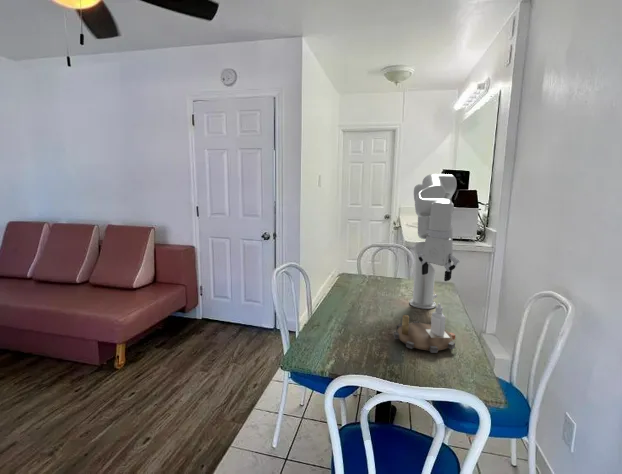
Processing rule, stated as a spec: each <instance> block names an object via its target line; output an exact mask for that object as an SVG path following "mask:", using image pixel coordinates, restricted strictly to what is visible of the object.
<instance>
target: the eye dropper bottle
mask: <svg viewBox="0 0 622 474" xmlns="http://www.w3.org/2000/svg"><path fill="white" fill-rule="evenodd" d="M430 324H431V332H432V333H433V334H435V335H437V336H444V331H445V330H446V329H445V328H446V316H445V315H444V313H443V306H441V303H440V302H438V305H436V307H435V311H433V312H432V313H431V320H430Z"/></svg>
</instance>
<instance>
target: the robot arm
mask: <svg viewBox="0 0 622 474" xmlns="http://www.w3.org/2000/svg"><path fill="white" fill-rule="evenodd" d="M457 186H458V185H457V178H456V177H455V176H454V175H453V174H449V173H448V174H447V173H446V174H445V173H438V174H437V173H432V174H428V175H426V176H425V177H423V179H422V183H419V184H416V185H415V186H414V188H413V200H414V208H415V209H414V210H415V214H416V215H417V236H418V238H419V239H422V240H424V241H420V242H416V244H415V245H414V248H413V253H414V277H413V290H412V291H413V292H412V293H413V294H412V298H411V299H410V300H409V302H408V303H409V304H410V305H411V307H414V308H417V309H423V310H431V309H434V308H436V306H437V303H436V302H435V301H434V299H437V298H438V294H436V293H435V294H434V292H435V291H434V290H435V279H436V278H435V277H436V270H435V268H434V266H433V265H437V266H443V267H444V269H445V271H444V280H443V281H444V282H448V281H450V280H452V271H454V270H455V269H456V268H457V267H458V265H459V264H460V260H459V259H457V257H455V256H454V255H453V246H454V245H453V227H452V226H453V225H452V215H454V210H455V208H454V203H453V201H452V200H451V199H452V197H453V195H454V194H455V192H456V190H457ZM452 263H453V264H452Z"/></svg>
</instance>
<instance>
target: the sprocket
mask: <svg viewBox="0 0 622 474" xmlns="http://www.w3.org/2000/svg"><path fill="white" fill-rule="evenodd" d="M401 320H402V321H401V323H399V324H397V325H396V331H394V332H393V337H394V339H395V340H399V341H401V342H402V343H403V344H405V347H406V348H408V349H411V350H412V349H417V350H422V351H428V352H430V353H432V354H433V353H436V354H437V353H438V352H439V351H443V350H447V349H450V350H453V349H455V348H456V342H453V340H454V341H455V340H456V334H455V333H454V332H449V331H448V330H447V329H445V331H444V336H437V335H435V334H433V333H432V332H431V323H430V324H429V323H423V322H420V321H412V322H410V315H408V314H403V315H402V319H401Z"/></svg>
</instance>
